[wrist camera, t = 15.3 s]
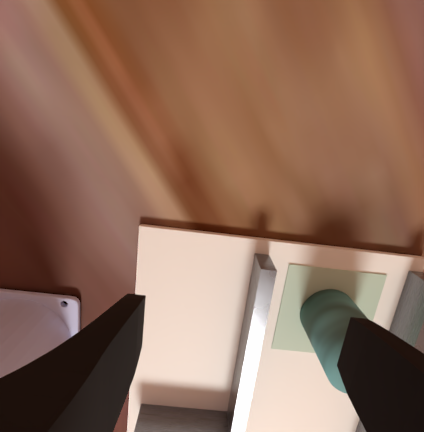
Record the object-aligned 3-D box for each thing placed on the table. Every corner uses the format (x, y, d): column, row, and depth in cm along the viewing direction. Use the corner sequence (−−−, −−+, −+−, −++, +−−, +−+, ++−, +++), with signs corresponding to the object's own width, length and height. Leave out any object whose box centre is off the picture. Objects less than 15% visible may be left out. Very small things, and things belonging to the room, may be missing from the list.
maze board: (123, 506, 27) (121, 514, 27) (141, 223, 20) (138, 226, 19) (331, 522, 28) (333, 530, 27) (422, 256, 21) (428, 259, 20)
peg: (299, 338, 22) (324, 396, 17) (300, 290, 21) (327, 339, 16) (352, 335, 22) (393, 392, 17) (356, 287, 21) (401, 334, 16)
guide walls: (133, 506, 26) (126, 543, 24) (153, 241, 20) (145, 256, 17) (335, 522, 27) (348, 559, 25) (422, 272, 20) (451, 290, 18)
